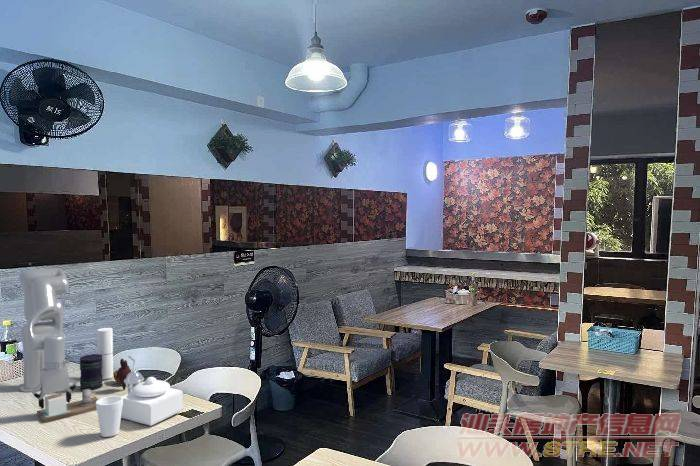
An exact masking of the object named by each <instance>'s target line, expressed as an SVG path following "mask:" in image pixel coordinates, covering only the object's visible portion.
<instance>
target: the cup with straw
mask: <svg viewBox="0 0 700 466" xmlns="http://www.w3.org/2000/svg"><path fill="white" fill-rule="evenodd" d="M127 357H128V358H129V359H130V360H131V361H132V362H133V363H132V365H133V367H132V368H133V369H132V370H133V371H131V372H130V373H129V374H128V375H127V377H126V379H124V383H126V391H127V392H126V393H127V394H129V393H131V392H133V391H132V390H133V388H134V387H135V386H136V385H138V384H140V383H142V382H145V377H144V376H143V375H142V373H141V372H139V371H136V360H135V359H134V358H133V357H132V356H131V355H128V356H127Z"/></svg>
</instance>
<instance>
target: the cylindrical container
mask: <svg viewBox="0 0 700 466" xmlns="http://www.w3.org/2000/svg"><path fill="white" fill-rule="evenodd" d="M96 331H97V332H96V333H97V334H96V335H97V337H96V339H97V340H96V341H97V342H96V343H97V345H96V346H97V351H96V352H97V354H100V355H102V365H103V366H102V376H103V377H102V378H103V380H109V379H111V378H114V375H113V373H114V344H113V343H114V340H113V339H114V336H113V331H114V329H113V328H112V327H101V328H98V329H97V330H96Z"/></svg>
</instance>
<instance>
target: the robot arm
mask: <svg viewBox="0 0 700 466" xmlns="http://www.w3.org/2000/svg"><path fill="white" fill-rule="evenodd" d="M18 280H19V281H18V282H19V285H20V287H21V288H22V291H23V295H24V298H23V299H24V301H23V302H24V303H23V305H24V306H23V308H24V309H23V312H24V313H23V314H24V318H25V320H26V321H27V322H26V324H24V325H23V326H22V327H21V328H20V331H19V334H20V339H21V344H22V345H21V346H22V361H23V362H22V366H23V368H22V369H23V373H22V374H23V384H22V385H21V386H20V387H19V391H21V392H24V393H31V394H32V395H33V397H34V398H37V399H38V408H40V410H43V409H45V397H46V395H49V394H53V393H58V392H61V391H66V392H65V397H66V403H67V404H68V403H71V400H72V393H73V391H74V390H75V389H76V387H77V385H78V383H79V381H78V379H75V378H74V379H73V378H71V377H70V376H69V369H68V366H67V363H69V362H70V360H69V359H66V334H65V333H64V306H63V302H62V301H61V300H60V299H56V295H57V296H58V295H65V294H67V293H68V292H69V291H70V290H69V288H70V283H69V280H68V277H67V275H66V274H65V272H64V271H63V269H61V268H59V267H54V268H52V267H51V268H34V269H33V268H32V269H25V270H22V271H21V272H20V273H19V274H18ZM45 320H47V321H45ZM70 383H72V385H71V386H70ZM39 391H40V393H37V392H39Z"/></svg>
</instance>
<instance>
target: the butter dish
mask: <svg viewBox="0 0 700 466" xmlns="http://www.w3.org/2000/svg"><path fill="white" fill-rule="evenodd" d="M132 391H133V392H131V393H129V394H128V393H127V394H124V395H122V396H121V395H120V396H121V397H123V405H122V413H121V419H123V420H129V421H132V422H136V423H139V424H143V425H146V426H149V427H150V426H151V427H152V426H153V425H155V424H157V423H159V422H161V421H163V420H166V419H168V418H170V417H172V416H174V415H176V414H178V413H180V412H183V411H184V391H182V390H181V389H176V388H173V387H172V388H171V385H170V383H169V382H168V381H165V380H159V379H157V378H155V377H154V376H149V377H147V378H146V379H144V381H142V383H140V384H138V385H136V386H135V387H134V388H133V390H132Z"/></svg>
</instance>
